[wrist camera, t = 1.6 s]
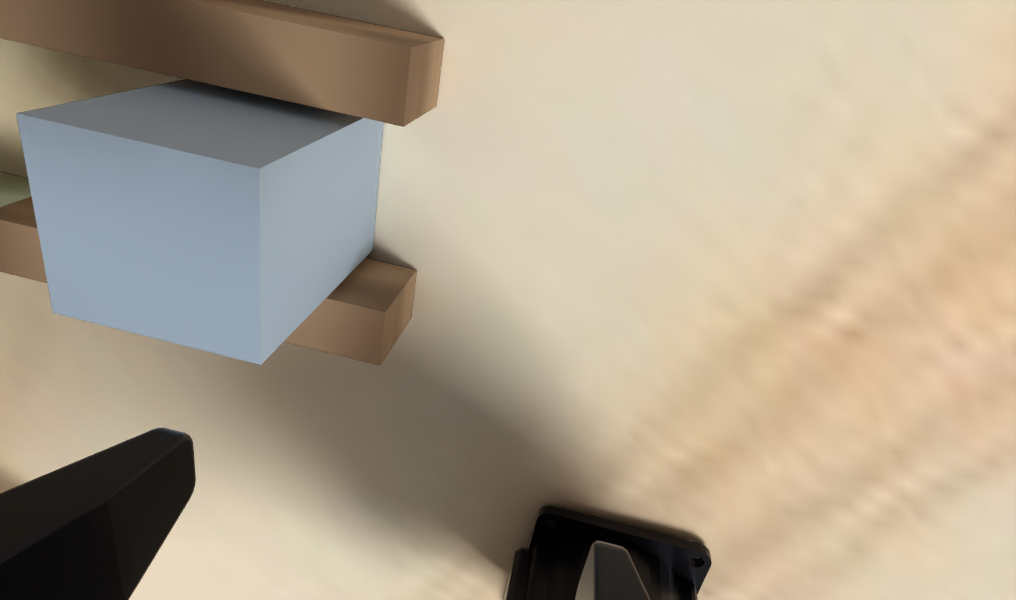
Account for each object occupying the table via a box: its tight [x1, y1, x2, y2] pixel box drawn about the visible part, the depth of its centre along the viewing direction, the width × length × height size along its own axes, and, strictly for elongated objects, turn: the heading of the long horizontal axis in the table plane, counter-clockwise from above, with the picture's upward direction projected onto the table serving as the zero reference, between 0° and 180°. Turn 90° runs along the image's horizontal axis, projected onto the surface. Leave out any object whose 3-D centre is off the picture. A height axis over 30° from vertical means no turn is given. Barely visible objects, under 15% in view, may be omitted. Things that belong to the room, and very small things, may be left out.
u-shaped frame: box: [0, 0, 444, 365], centre depth 18 cm, size 19×9×4 cm, turn 80°
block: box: [16, 79, 383, 365], centre depth 16 cm, size 5×4×7 cm
